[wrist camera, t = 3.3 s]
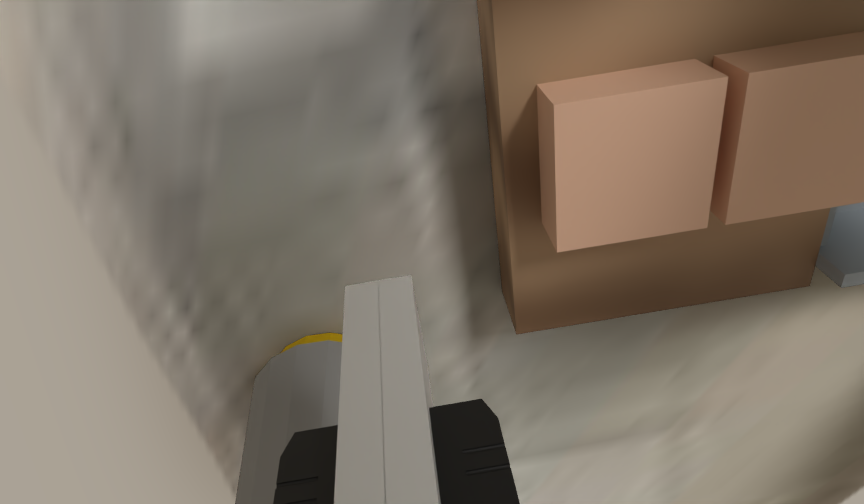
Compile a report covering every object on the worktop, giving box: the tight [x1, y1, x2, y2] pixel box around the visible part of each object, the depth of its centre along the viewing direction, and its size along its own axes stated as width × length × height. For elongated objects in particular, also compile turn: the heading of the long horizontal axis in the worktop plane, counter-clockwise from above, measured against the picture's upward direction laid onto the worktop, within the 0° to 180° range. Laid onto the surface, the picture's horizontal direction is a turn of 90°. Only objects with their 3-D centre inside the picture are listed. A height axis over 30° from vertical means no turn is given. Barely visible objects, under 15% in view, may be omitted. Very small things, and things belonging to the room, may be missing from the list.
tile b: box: [710, 31, 864, 225], centre depth 19 cm, size 5×5×2 cm
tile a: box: [537, 59, 728, 253], centre depth 19 cm, size 5×5×2 cm
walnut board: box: [477, 0, 864, 334], centre depth 21 cm, size 15×12×3 cm
